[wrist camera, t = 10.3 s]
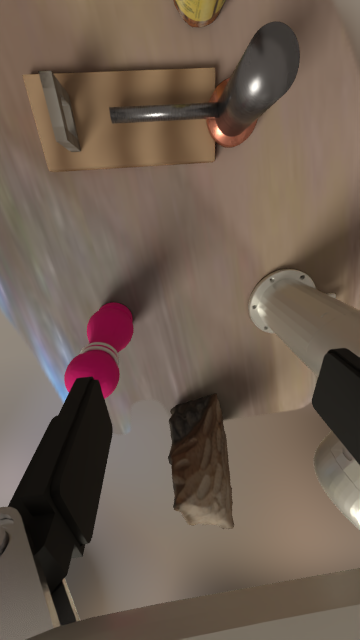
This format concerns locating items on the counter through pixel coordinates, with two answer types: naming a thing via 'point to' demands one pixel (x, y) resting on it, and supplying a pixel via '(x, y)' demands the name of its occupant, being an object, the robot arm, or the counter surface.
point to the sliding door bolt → (235, 90)
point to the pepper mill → (103, 347)
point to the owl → (201, 463)
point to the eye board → (121, 138)
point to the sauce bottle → (199, 11)
